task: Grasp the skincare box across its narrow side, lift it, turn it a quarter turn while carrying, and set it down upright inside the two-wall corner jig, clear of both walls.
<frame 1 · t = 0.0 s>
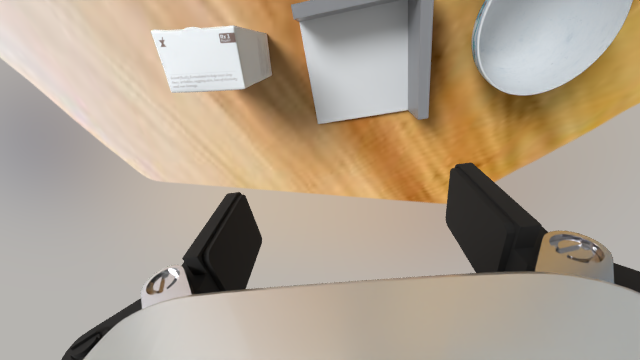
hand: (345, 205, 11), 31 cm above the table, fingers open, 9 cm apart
skincare box: (245, 54, 37), on the table
chinaware: (506, 27, 33), on the table
corner jig: (361, 62, 36), on the table
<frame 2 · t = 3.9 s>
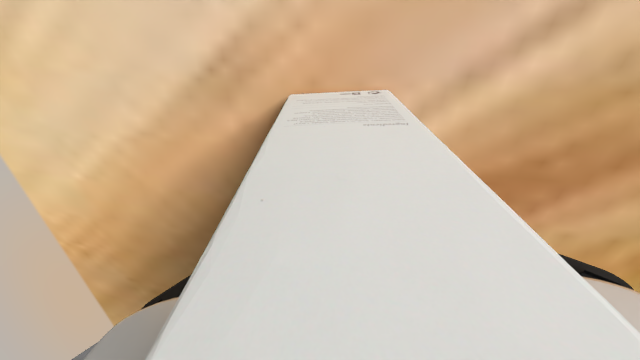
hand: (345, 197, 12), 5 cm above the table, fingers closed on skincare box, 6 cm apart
skincare box: (342, 156, 16), on the table, touching gripper
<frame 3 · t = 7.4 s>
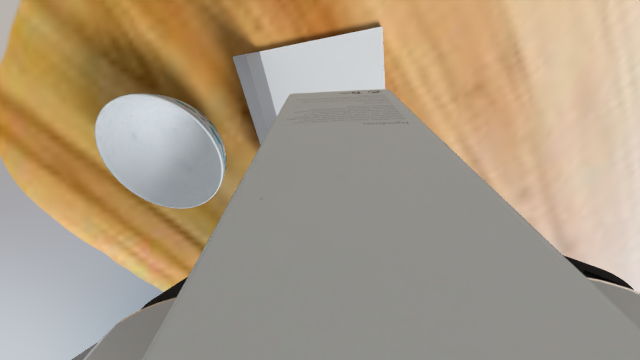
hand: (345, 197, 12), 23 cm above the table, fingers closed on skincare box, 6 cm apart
skincare box: (342, 155, 16), point 19 cm above the table, touching gripper
chinaware: (193, 136, 36), on the table
corner jig: (324, 107, 33), on the table
when the fingers open (6 cm above the table, at t = 11.2 s): skincare box drops 1 cm, resting on corner jig.
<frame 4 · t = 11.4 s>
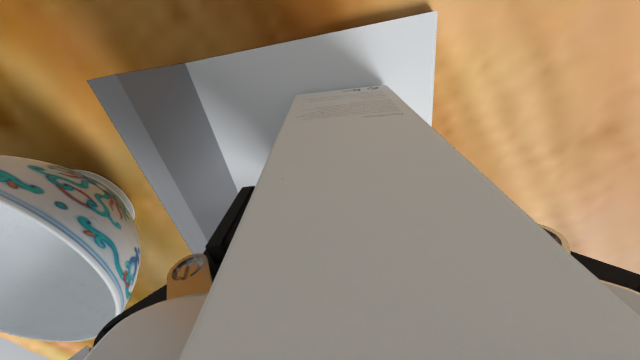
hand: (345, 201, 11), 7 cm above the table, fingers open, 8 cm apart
skincare box: (346, 149, 17), resting on corner jig
chinaware: (98, 201, 22), on the table
corner jig: (316, 161, 18), on the table
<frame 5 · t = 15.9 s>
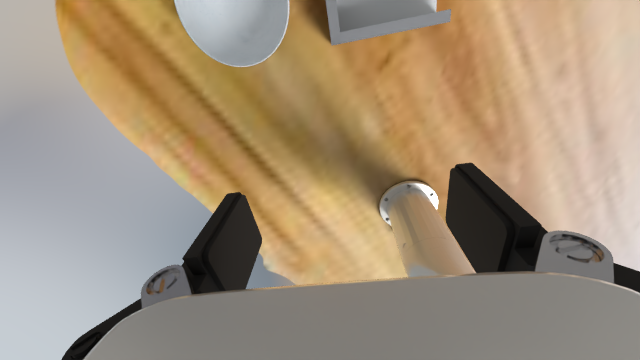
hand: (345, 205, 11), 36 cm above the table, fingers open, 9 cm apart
chinaware: (249, 9, 38), on the table
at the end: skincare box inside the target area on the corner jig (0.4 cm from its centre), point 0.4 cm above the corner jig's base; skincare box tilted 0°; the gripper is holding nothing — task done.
